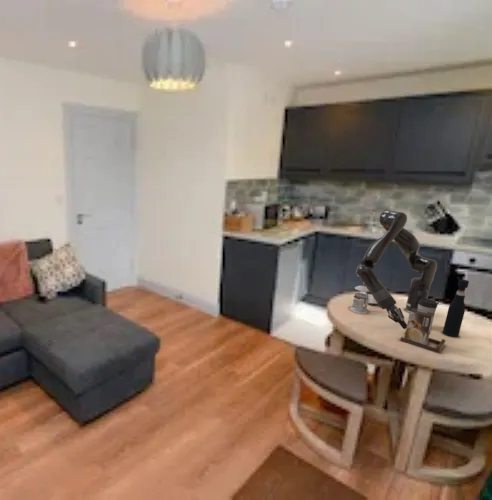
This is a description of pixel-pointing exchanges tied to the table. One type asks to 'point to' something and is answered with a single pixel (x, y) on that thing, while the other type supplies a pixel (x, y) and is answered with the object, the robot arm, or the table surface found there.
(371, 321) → the table surface
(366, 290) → the french press
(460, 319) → the dark water bottle
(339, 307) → the table surface
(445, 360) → the table surface
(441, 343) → the bay
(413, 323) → the coffee box
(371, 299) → the spread jar
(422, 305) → the coffee cup
